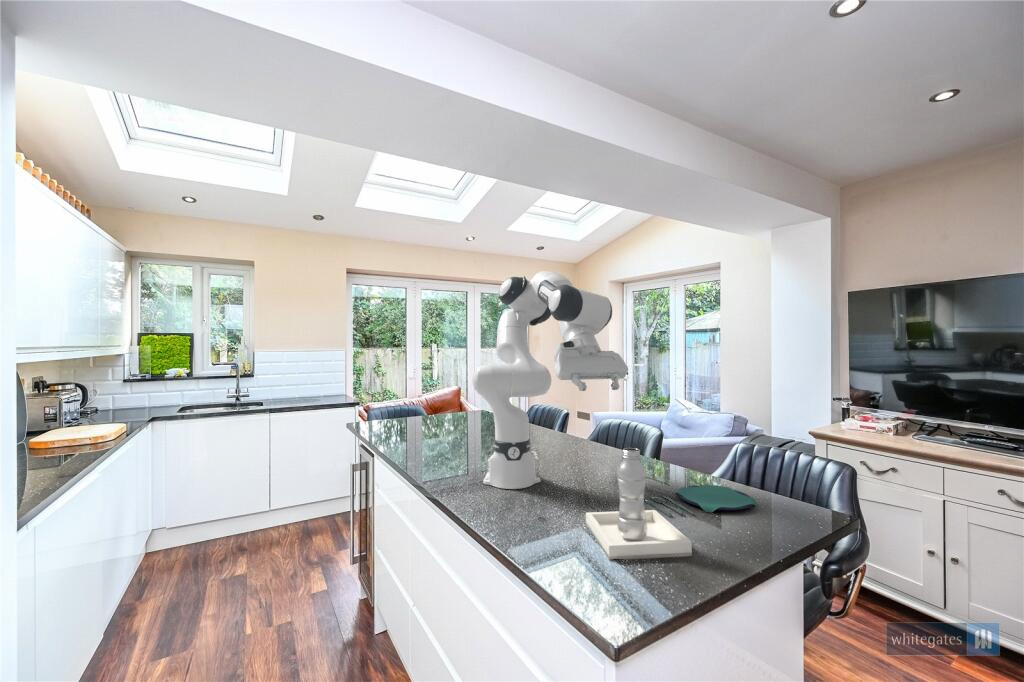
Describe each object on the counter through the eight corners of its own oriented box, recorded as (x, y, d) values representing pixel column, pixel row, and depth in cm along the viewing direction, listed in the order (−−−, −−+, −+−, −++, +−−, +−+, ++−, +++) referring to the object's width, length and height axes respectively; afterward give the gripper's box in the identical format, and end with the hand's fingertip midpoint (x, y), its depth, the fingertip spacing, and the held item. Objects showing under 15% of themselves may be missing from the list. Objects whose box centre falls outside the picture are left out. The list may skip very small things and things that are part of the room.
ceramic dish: (585, 524, 107) (585, 512, 107) (655, 521, 109) (654, 509, 109) (609, 560, 89) (609, 545, 89) (691, 556, 91) (691, 541, 91)
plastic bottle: (646, 546, 94) (645, 454, 94) (614, 541, 96) (614, 451, 96) (649, 534, 99) (648, 448, 100) (619, 529, 102) (618, 445, 102)
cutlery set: (771, 512, 116) (771, 503, 116) (671, 523, 110) (671, 513, 110) (721, 489, 135) (721, 481, 135) (634, 497, 129) (633, 489, 129)
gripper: (613, 358, 127) (631, 395, 117) (548, 359, 122) (561, 397, 112) (621, 343, 123) (639, 380, 113) (553, 343, 117) (567, 382, 108)
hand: (600, 389), depth 112 cm, fingers open, 8 cm apart
